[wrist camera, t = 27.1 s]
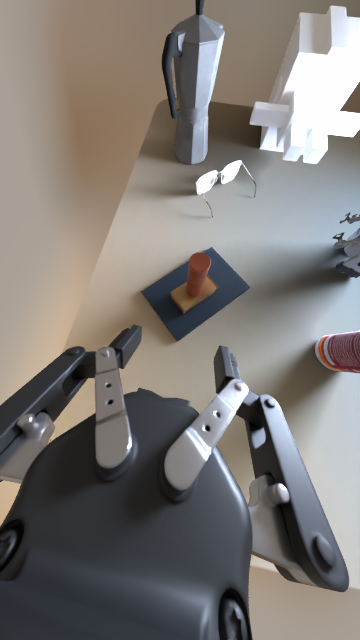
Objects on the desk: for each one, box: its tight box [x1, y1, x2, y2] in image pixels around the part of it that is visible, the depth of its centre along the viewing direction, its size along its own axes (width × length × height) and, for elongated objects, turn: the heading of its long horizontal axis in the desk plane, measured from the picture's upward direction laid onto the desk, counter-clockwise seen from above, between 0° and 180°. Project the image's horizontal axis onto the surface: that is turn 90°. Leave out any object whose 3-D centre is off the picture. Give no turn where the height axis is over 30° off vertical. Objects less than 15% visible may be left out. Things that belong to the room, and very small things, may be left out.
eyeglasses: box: [195, 160, 256, 217], centre depth 32 cm, size 14×8×4 cm, turn 121°
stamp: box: [170, 253, 216, 315], centre depth 21 cm, size 7×4×10 cm, turn 126°
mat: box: [141, 247, 250, 341], centre depth 27 cm, size 18×12×1 cm, turn 127°
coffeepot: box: [162, 0, 225, 164], centre depth 29 cm, size 15×9×18 cm, turn 136°
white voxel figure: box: [250, 6, 360, 164], centre depth 33 cm, size 15×25×28 cm
